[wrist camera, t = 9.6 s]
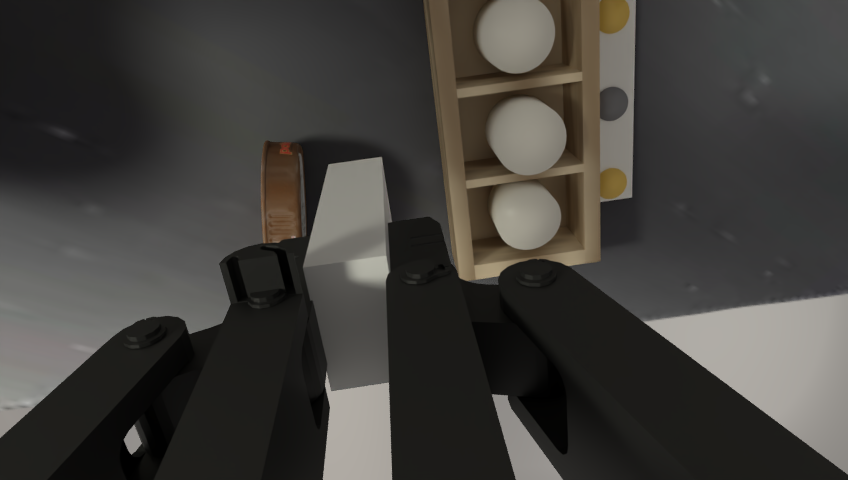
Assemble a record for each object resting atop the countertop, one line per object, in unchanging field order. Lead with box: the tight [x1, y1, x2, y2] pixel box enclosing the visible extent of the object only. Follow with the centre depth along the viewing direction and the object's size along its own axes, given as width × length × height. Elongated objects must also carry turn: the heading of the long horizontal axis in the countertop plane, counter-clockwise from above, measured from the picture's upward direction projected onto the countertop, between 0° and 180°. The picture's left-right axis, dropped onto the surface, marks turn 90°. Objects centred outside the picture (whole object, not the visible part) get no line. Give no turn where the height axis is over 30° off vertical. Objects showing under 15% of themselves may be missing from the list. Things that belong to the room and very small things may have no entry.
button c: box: [473, 0, 555, 74], centre depth 40 cm, size 5×5×4 cm
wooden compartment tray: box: [423, 0, 600, 281], centre depth 44 cm, size 11×22×5 cm, turn 7°
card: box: [599, 0, 636, 202], centre depth 46 cm, size 4×16×1 cm, turn 7°
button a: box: [488, 179, 561, 250], centre depth 45 cm, size 5×5×4 cm
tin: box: [261, 140, 307, 243], centre depth 44 cm, size 15×3×8 cm, turn 177°
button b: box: [485, 94, 567, 175], centre depth 41 cm, size 5×5×4 cm
